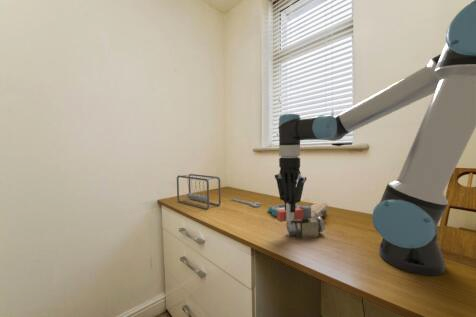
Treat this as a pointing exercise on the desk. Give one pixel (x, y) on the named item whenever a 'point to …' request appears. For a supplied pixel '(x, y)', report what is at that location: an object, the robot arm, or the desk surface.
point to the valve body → (306, 227)
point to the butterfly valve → (316, 209)
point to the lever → (295, 213)
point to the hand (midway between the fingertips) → (290, 220)
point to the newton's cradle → (198, 197)
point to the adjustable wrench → (255, 205)
